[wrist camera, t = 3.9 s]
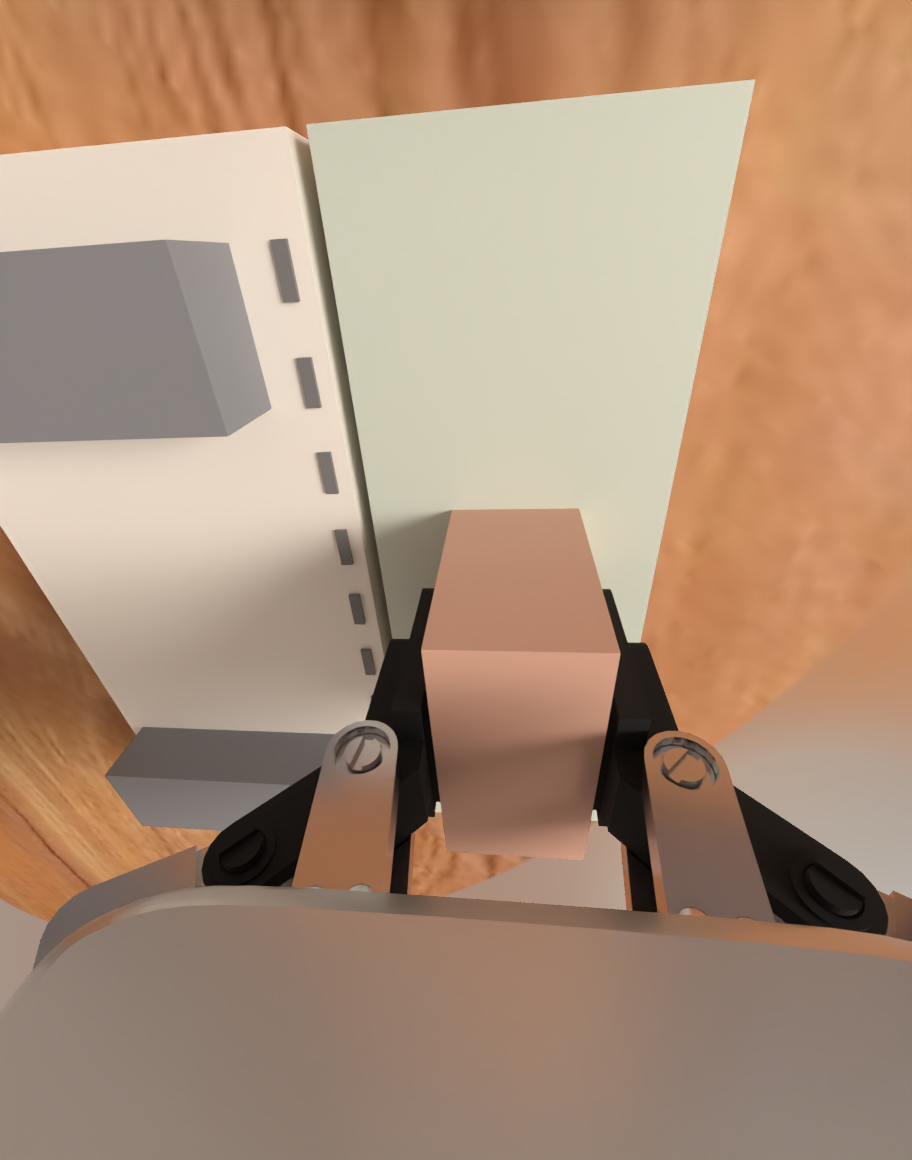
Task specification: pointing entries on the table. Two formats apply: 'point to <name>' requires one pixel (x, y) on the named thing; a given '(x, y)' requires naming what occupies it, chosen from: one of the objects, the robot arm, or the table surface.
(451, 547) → the stub
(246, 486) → the base plate with rails
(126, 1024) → the robot arm
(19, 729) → the table surface
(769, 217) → the table surface
